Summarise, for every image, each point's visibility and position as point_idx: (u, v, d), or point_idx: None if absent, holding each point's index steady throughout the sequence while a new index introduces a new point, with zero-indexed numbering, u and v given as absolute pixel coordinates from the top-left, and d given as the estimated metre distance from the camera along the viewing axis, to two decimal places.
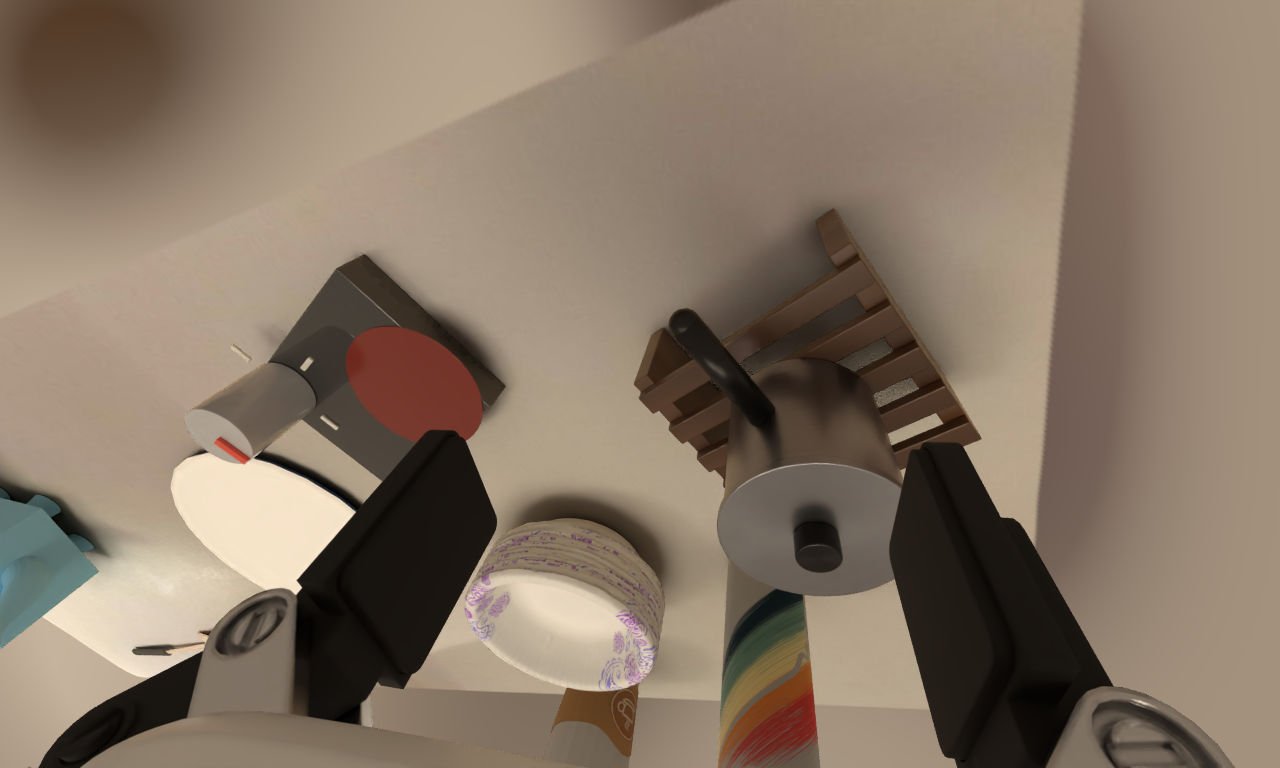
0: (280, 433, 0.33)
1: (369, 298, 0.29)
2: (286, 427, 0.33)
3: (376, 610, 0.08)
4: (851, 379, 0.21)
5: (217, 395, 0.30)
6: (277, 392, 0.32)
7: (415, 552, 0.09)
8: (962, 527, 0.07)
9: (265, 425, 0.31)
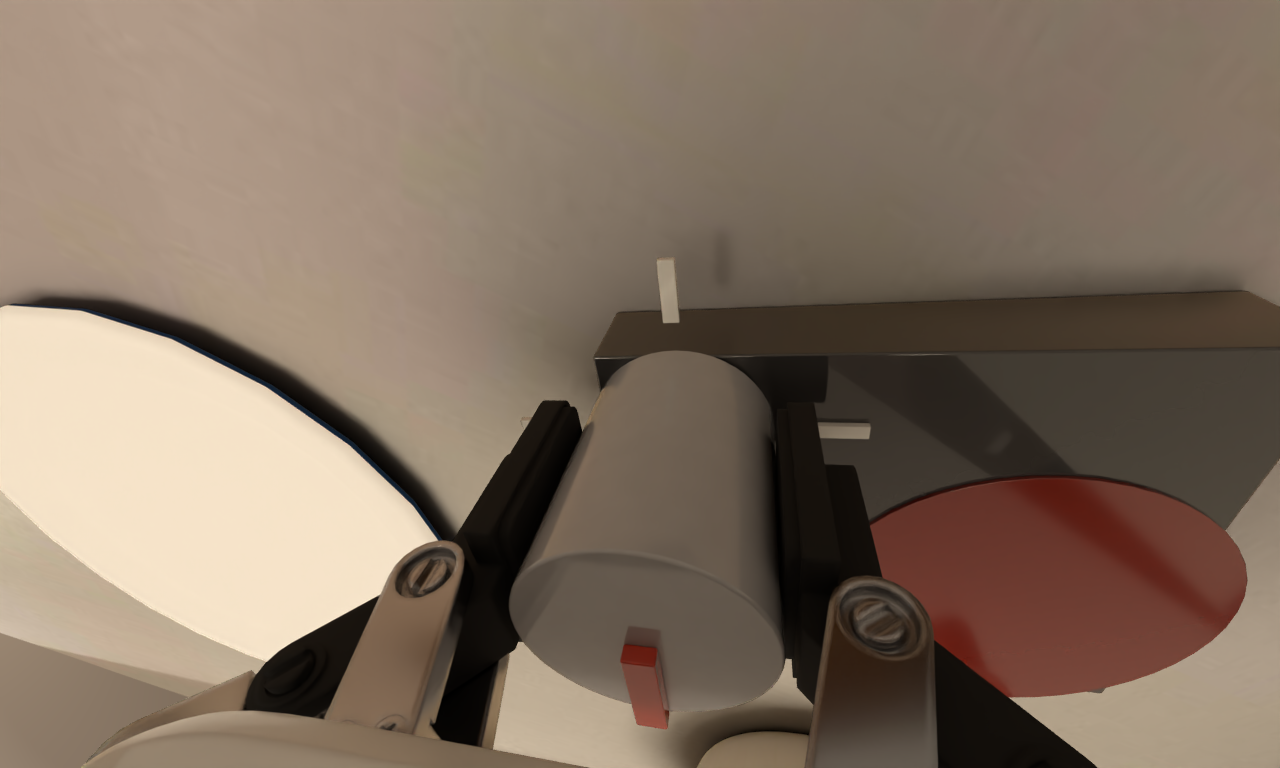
0: None
1: None
2: None
3: None
4: None
5: (716, 494, 0.08)
6: None
7: None
8: (792, 466, 0.08)
9: None
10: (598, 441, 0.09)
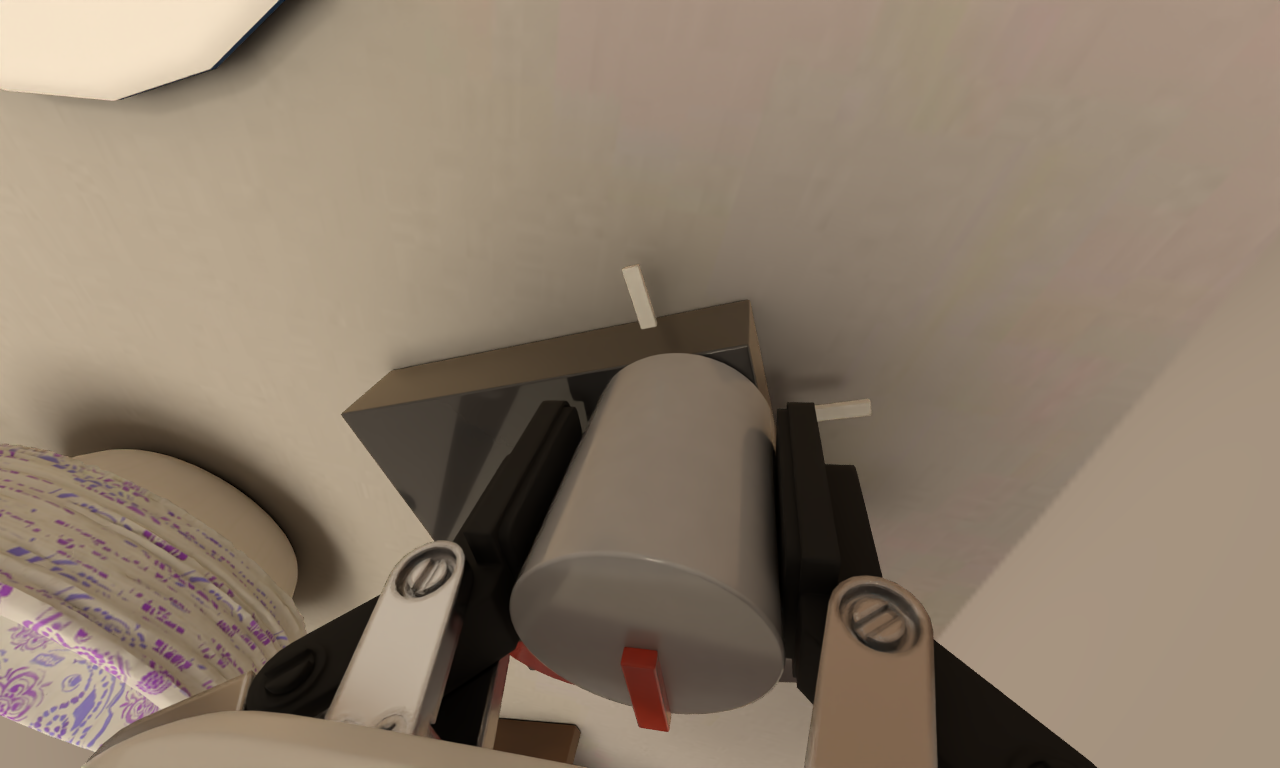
0: None
1: None
2: None
3: None
4: None
5: (714, 496, 0.08)
6: None
7: None
8: (792, 466, 0.08)
9: None
10: (597, 444, 0.09)
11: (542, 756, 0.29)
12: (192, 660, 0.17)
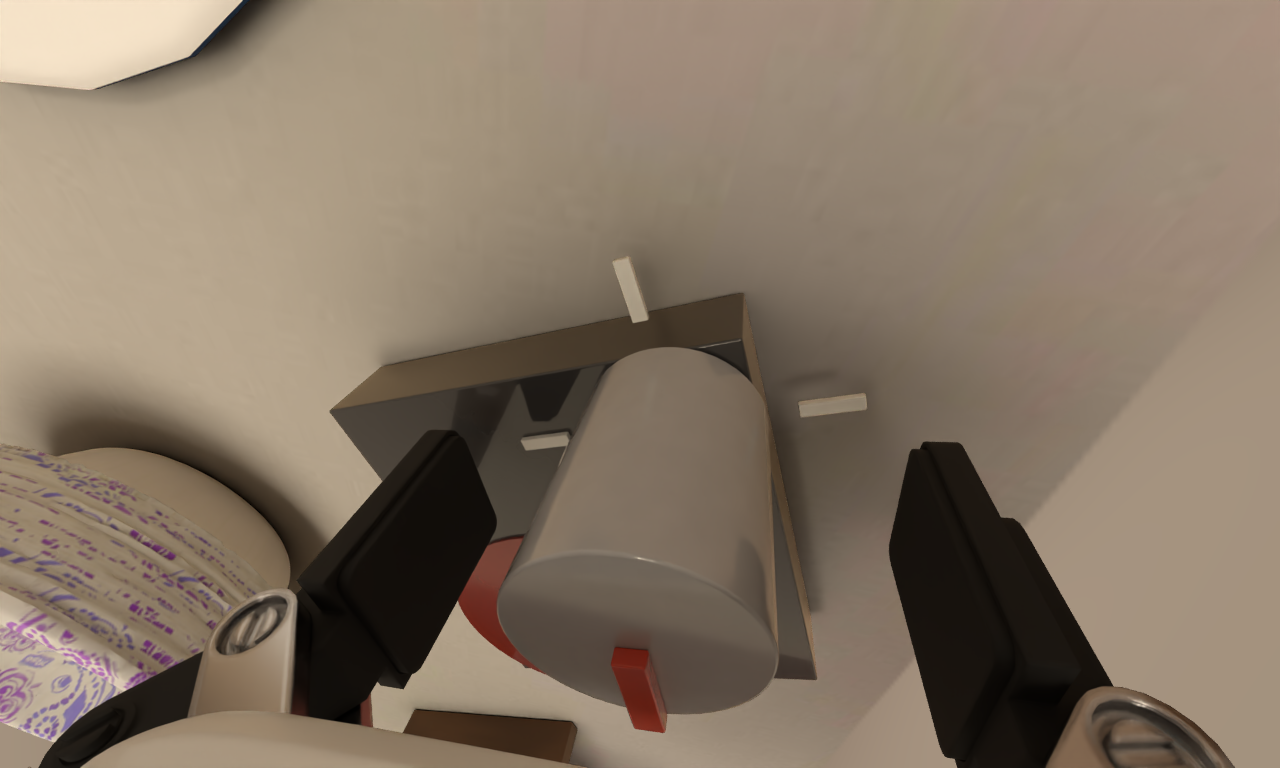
0: None
1: None
2: None
3: (376, 610, 0.08)
4: None
5: (701, 491, 0.07)
6: None
7: (415, 552, 0.09)
8: (962, 527, 0.07)
9: None
10: (584, 442, 0.09)
11: (538, 753, 0.29)
12: (181, 661, 0.17)
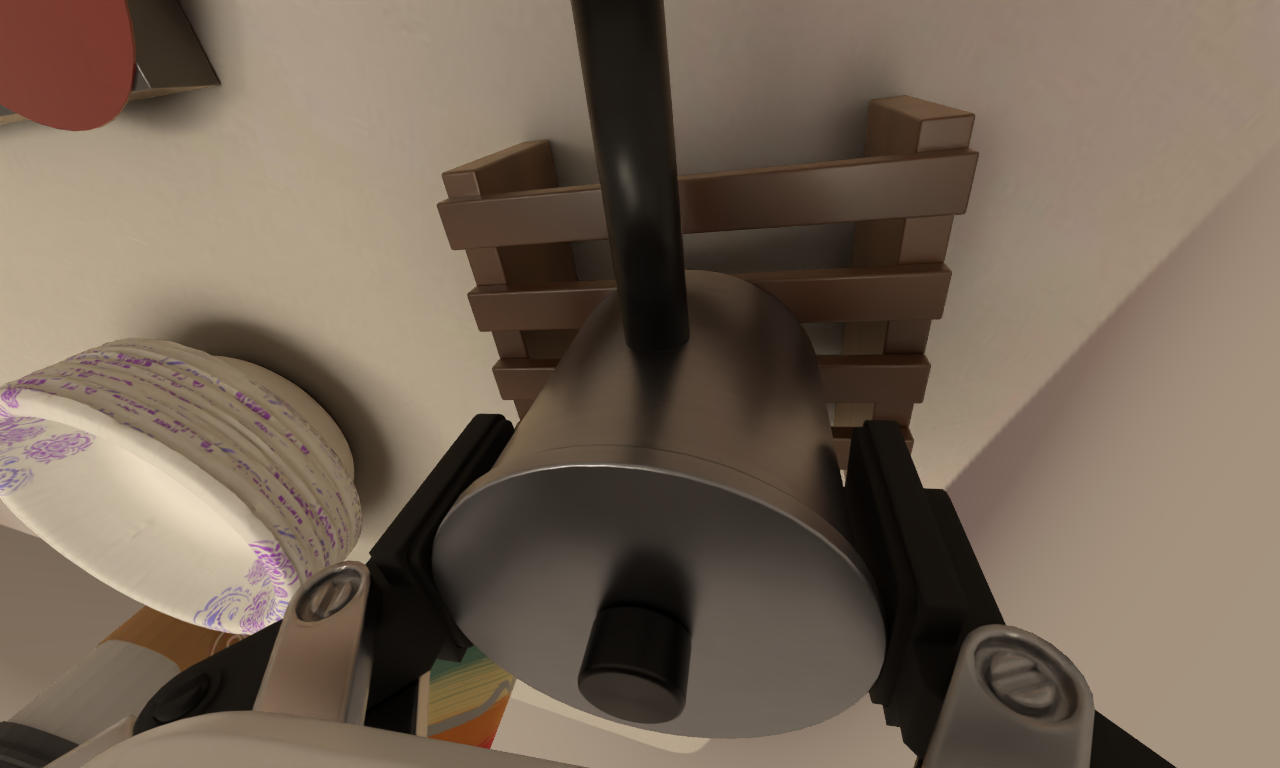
0: None
1: None
2: None
3: None
4: (815, 362, 0.12)
5: None
6: None
7: None
8: (887, 493, 0.08)
9: None
10: None
11: None
12: (47, 378, 0.19)
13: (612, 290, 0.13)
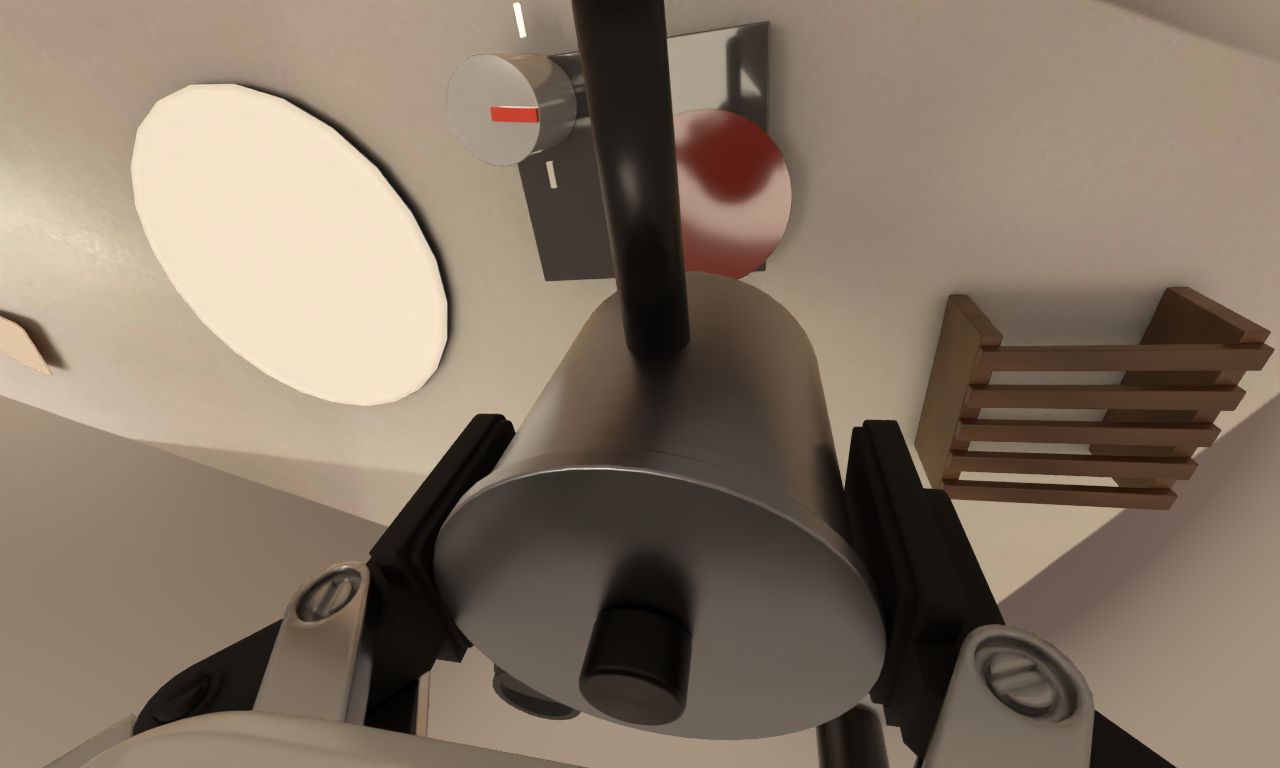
0: (554, 96, 0.23)
1: (768, 81, 0.24)
2: (556, 92, 0.23)
3: None
4: (815, 363, 0.12)
5: None
6: (520, 54, 0.23)
7: None
8: (887, 493, 0.08)
9: (527, 65, 0.22)
10: None
11: (952, 331, 0.29)
12: None
13: (1061, 392, 0.26)
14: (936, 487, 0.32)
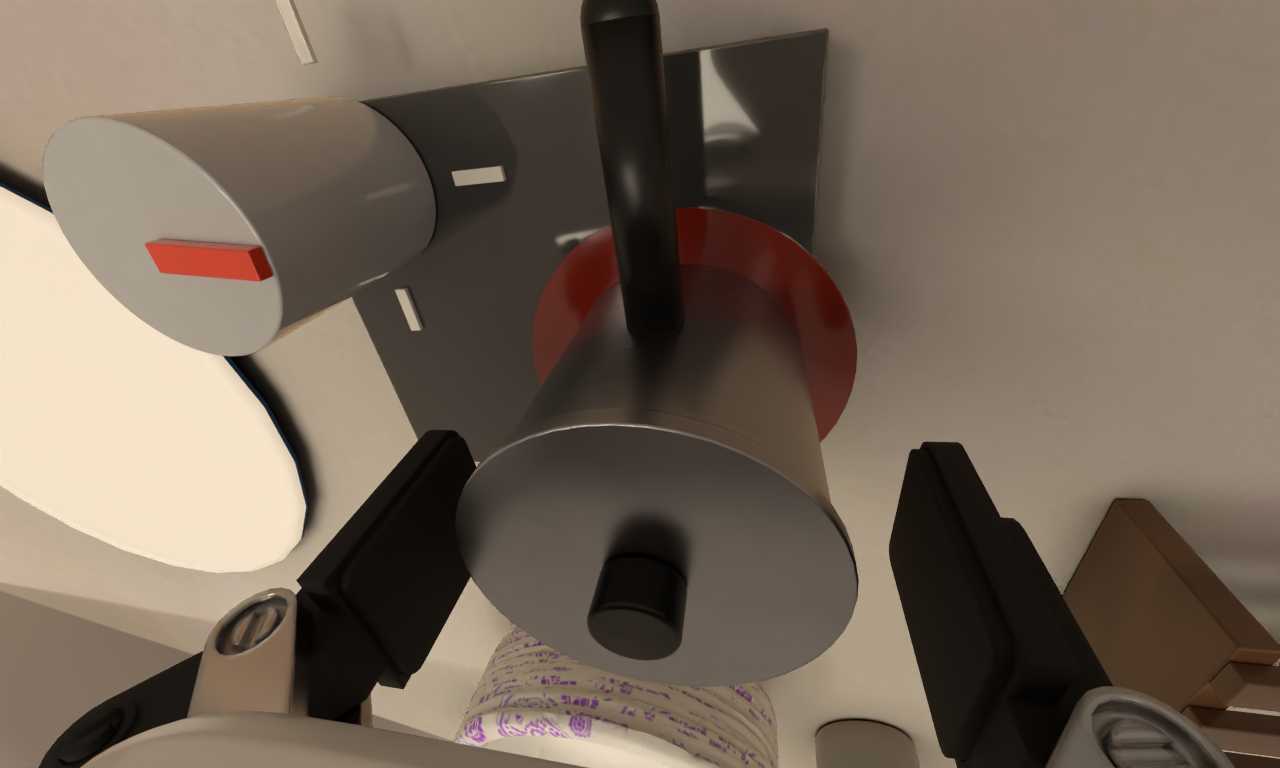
0: (342, 197, 0.10)
1: (819, 155, 0.11)
2: (354, 185, 0.10)
3: (376, 610, 0.08)
4: (799, 349, 0.13)
5: None
6: (274, 102, 0.11)
7: (415, 552, 0.09)
8: (962, 527, 0.07)
9: (248, 137, 0.09)
10: None
11: (1128, 569, 0.17)
12: (596, 697, 0.19)
13: None
14: None
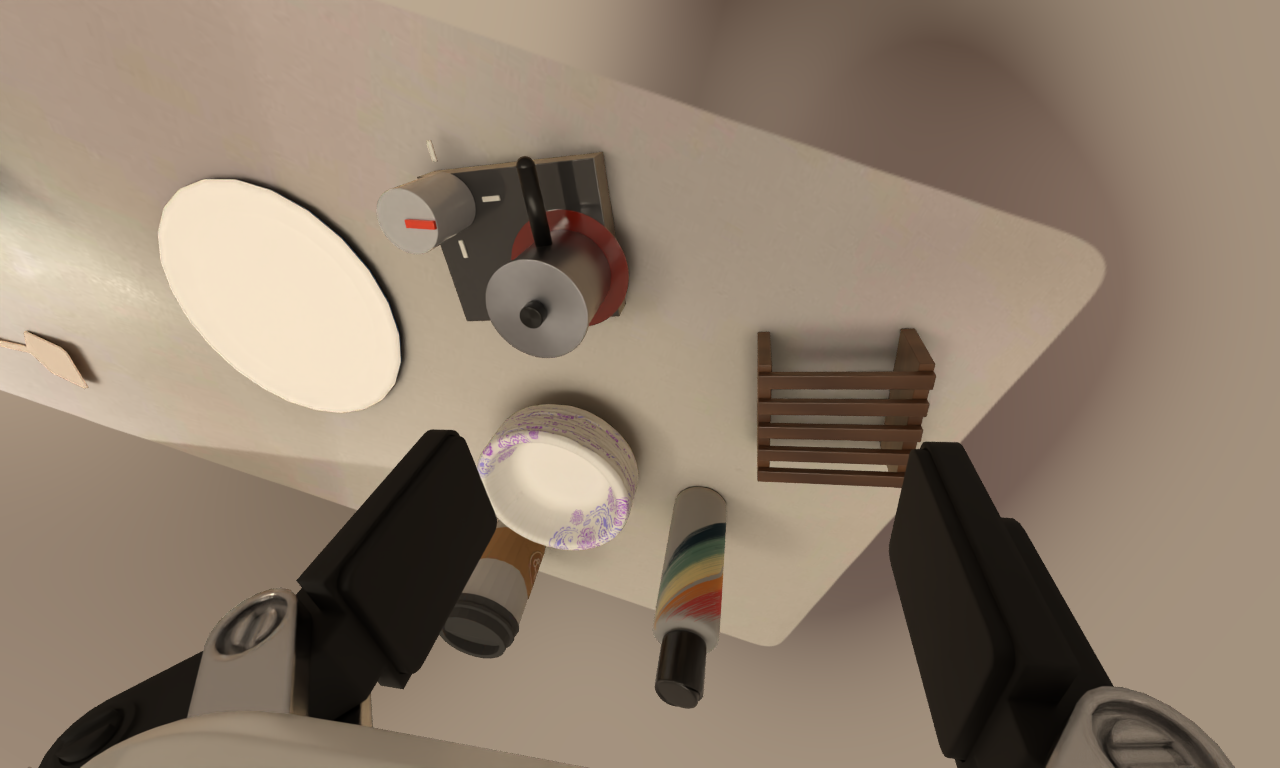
0: (451, 207, 0.34)
1: (599, 193, 0.35)
2: (453, 203, 0.34)
3: (376, 610, 0.08)
4: (601, 258, 0.36)
5: None
6: (429, 177, 0.34)
7: (415, 552, 0.09)
8: (962, 527, 0.07)
9: (429, 191, 0.33)
10: None
11: None
12: (541, 426, 0.43)
13: (815, 403, 0.37)
14: (757, 473, 0.43)
